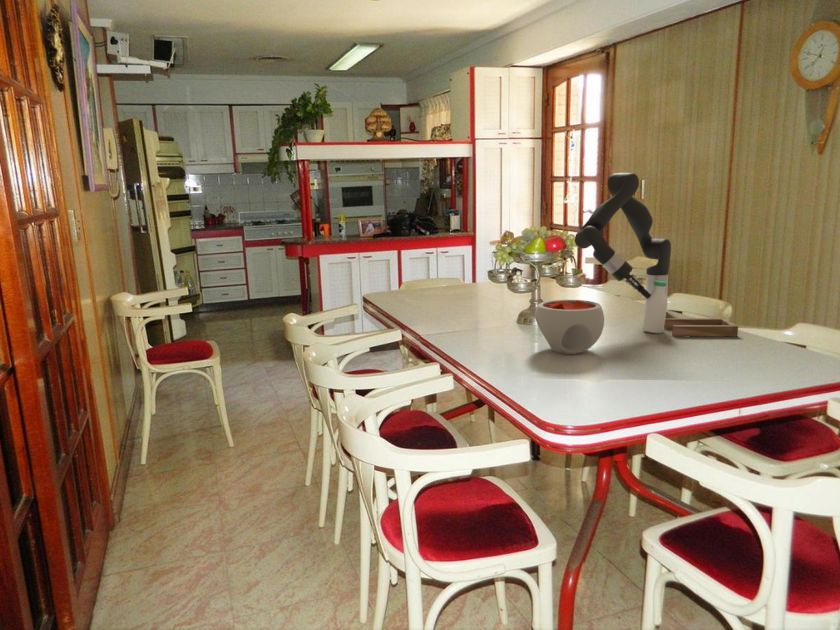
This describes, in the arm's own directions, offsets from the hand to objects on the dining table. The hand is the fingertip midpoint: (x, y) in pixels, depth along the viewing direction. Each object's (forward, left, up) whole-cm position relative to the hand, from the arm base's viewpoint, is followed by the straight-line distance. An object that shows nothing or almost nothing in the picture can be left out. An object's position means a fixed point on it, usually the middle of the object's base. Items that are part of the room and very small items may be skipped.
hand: (648, 296), depth 245 cm
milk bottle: (0, +2, -14) cm, 14 cm away
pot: (+30, -33, -14) cm, 47 cm away
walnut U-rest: (0, +18, -14) cm, 23 cm away
